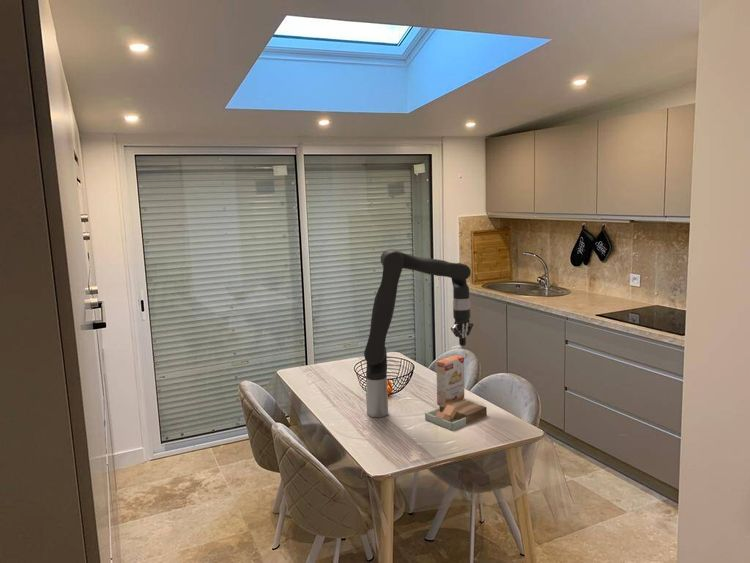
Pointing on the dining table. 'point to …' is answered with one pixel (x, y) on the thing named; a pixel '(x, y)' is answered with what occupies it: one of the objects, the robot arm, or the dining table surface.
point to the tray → (450, 424)
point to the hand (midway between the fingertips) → (462, 345)
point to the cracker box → (450, 379)
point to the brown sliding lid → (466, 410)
